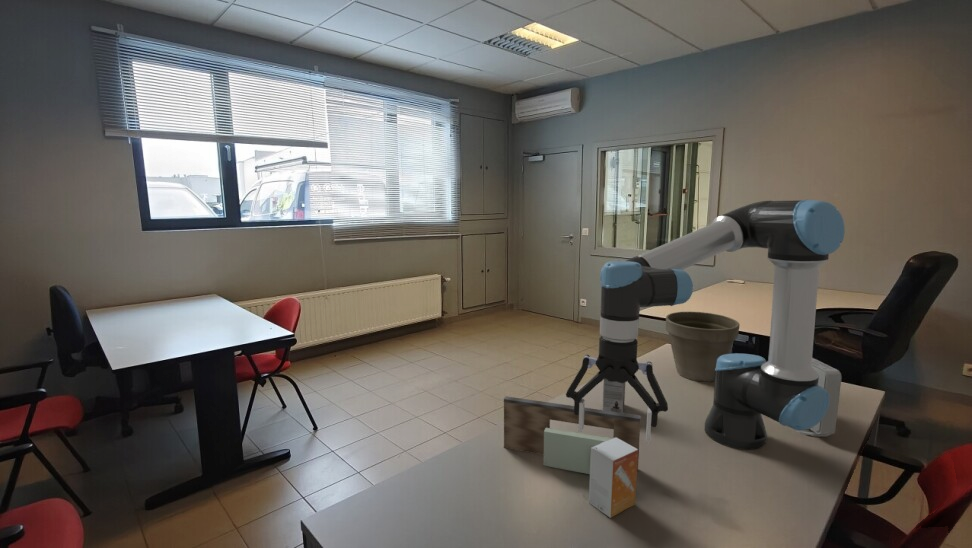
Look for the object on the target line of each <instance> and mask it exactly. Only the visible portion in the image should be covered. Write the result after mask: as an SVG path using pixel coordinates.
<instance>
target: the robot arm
mask: <svg viewBox="0 0 972 548" xmlns="http://www.w3.org/2000/svg"><path fill="white" fill-rule="evenodd" d="M845 231H846V230H845V222H844V219H843V215H842V214H841V211H840V210H839V209H837V207H836V206H835V205H833V203H830V202H829V201H825V200H816V199H815V200H814V199H802V200H801V199H799V200H795V199H794V200H762V201H757V202H754V203H753V202H752V203H749V204H747V205H743V206H740V207H738V208H736V209H733V210H731V211H728V212H725V213H724V214H723V213H722V214H721V215H719V216H717V217H714V219H713V220H712V221H711V223H710V224H709V225H706V226H704V227H701V228H698V229H697V230H695V231H691V232H689V233H687V234H685V235H683V236H680V237H678V238H675V239H674V240H671V241H669V242H668V241H667V242H666V243H664V244H661V245H660V246H657V247H655V248H652V249H651V250H647V251H645V252H643V253H640V254H638V255H636V256H633V257H631V258H629V259H626V260H618V259H617V260H610V261H608V262H606V263H605V264H604V265H603V266H602V267H601V270H600V274H599V280H600V286H601V287H600V288H601V289H600V290H601V291H600V315H599V335H600V337H599V341H598V356H597V358H596V357H593V356H591V355H589V354H585V355H583V359H582V364H581V367H580V369H579V370H578V372H577V374H576V375H575V377H574V378H573V380H572V382H571V383H570V385H569V386H568V389H567V391H566V393H565V397H566V398H569V399H572V400H573V402H574V403H573V406H574V414H575V415H579V424H578V432H577V433H583V429H584V427H585V425H584V408H585V403H586V401H585V400H586V398H584V397H586V395H588V394H589V393H590V392H591V391H592V390H593V389H594V388H595V387H596V386H598V385H599V383H601V382H602V381H604V379H606V380H608V381H610V382H614V381H617V382H619V383H624V382H625V383H629V385H630V387H631V388H632V389H633V390H634V391H635V392H636V393H637V394H638V396H639V397H640V398H641V399H642V401H643V402H644V404H645V405H646V406H647V414H646V431H645V443H646V444H648V445H650V444H651V433H652V432H651V431H652V428H656V427H657V426H658V418H659V417H658V416H659V415H658V414H659V413H661V412H664V413H665V412H667V411H669V409H668V408H669V406H668V402H667V400H666V397H665V396H664V394H663V391H662V389H661V387H660V384H659V382H658V380H657V377H656V375H655V373H654V368H653V367H654V366H653V362H652V361H646V363H645V362H644V363H642V362H641V363H640V362H638V360H637V358H638V344H639V343H638V340H637V338H638V337H639V326H640V325H639V324H640V311H641V308H650V307H667V306H668V307H669V306H670V307H673V306H675V305H682V304H685V303H687V302H688V301H689V300H690V299H691V297H692V295H693V289H694V284H693V279H692V278H691V275H689V273H688V272H687V271H685V269H688V268H690V267H692V266H694V265H697V264H699V263H701V262H703V261H706V260H709V258H712V257H714V256H717V255H720V254H721V253H725V252H727V253H733V252H736V251H738V250H741V249H747V248H757V249H759V248H760V249H767V260H768V261H770V263H772V265H774V267H773V270H774V273H773V286H772V287H773V288H772V302H771V317H770V318H771V319H770V333H769V349H768V358H769V360H766V359H765V358H764V356H763V357H762V356H760V355H756V354H749V353H737V352H735V353H729V354H725V355H722V356H720V357H719V358H718V359H717V363H716V368H715V381H714V384H713V385H714V387H713V403H712V406H711V409H710V410H709V413H708V414H707V416H706V419H705V422H704V432H705V434H706V435H707V436H708V437H709V438H711V439H712V440H713V441H714V442H717V443H719V444H722V445H724V446H727V447H731V448H735V449H739V450H740V449H741V450H757V449H758V450H759V449H761V448H763V447H765V446H766V444H767V437H768V436H767V431H766V427H765V423H764V419H763V417H762V416H765V417H767V418H769V419H771V420H773V421H775V422H777V423H779V424H780V425H782V426H783V427H788V428H790V429H792V430H794V429H795V430H799V431H804V432H805V431H806V430H807V431H808V430H811V428H812V427H814V426H815V425H817V424H818V423H819V422H820V421H821V420H822V419H823V417H824V416H825V414H826V412H827V410H828V407H829V403H830V396H829V394H828V392H827V391H826V390H825V389H824V388H822V387H821V386H818V379H819V374H818V372H817V371H815V370H814V369H813V368H812V366H811V365H812V358H813V351H814V339H815V325H816V324H815V323H816V314H817V313H816V312H817V303H818V301H817V300H818V299H817V298H818V291H819V289H818V288H819V287H818V286H819V277H820V267H821V266H822V265H824V264H825V263H827V262H828V261H829V255H831V254H832V253H835V252H836V251H837V250H839V248H840V247H841V243H843V241H844V238H845ZM593 365H596V367H597V369H598V370H599V371H598V372H596V374H595V375H594V376H593V377H592V378H591V379H590V380H589V381H587V382H586V383H585V384H584V385H583V386H582V387H581V388H580V389H579V390H578V391H576V390H577V388H578V386H579V384H580V383H581V381H582V380H583V377H584V376H585V374H586V373H587V371H588V369H591V368H592V367H593ZM639 370H640V371H641V372H642V374H643V375H645V376H646V379H647V381H648V382H649V386H650V387H651V390H652V392H653V394H654V396H655V398H656V400H655V399H654V398H653V397H652V395H650V393H649V392H648V390H647V389H646V388H645V387H644V385H643V384H642V383H641V382H640V380H639V379H638V377H637V375H635V374H636V373H637V372H638V371H639ZM795 430H794V431H795Z"/></svg>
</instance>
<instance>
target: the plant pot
mask: <svg viewBox="0 0 972 548" xmlns="http://www.w3.org/2000/svg"><path fill="white" fill-rule="evenodd" d="M665 329H666V331H667V332H668V337H669V342H670V343H669V344H670V347H671V352H672V356H673V359H674V365H675V369H676V372H677V374H678V375H679V376H681V377H683V378H685V379H688V380H691V381H697V382H715V368H716V363H717V359H718V358H719V357H720V356H722V355H725V354H730V352H731V350H732V347H733V344H734V341H735V340H737V339H738V336H739V331H740V322H739V321H738V320H736V319H734V318H731V317H728V316H725V315H721V314H717V313H711V312H704V311H702V312H701V311H677V312H672V313H669V314H667V315H666V316H665Z"/></svg>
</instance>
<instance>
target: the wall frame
mask: <svg viewBox="0 0 972 548" xmlns="http://www.w3.org/2000/svg"><path fill="white" fill-rule="evenodd" d="M551 421H556V422H557V421H558V422H562V423H563V422H564V423H570V424H576V425H579V415H575V414H574V405H570V404H562V403H555V402H549V401H542V400H541V401H540V400H535V399H533V400H532V399H527V398H519V397H513V396H504V398H503V448H504V449H511V450H515V451H522V452H526V453H532V454H537V455H543V456H544V430H545V428H551ZM584 426H588V427H589V426H590V427H597V428H601V429H608V430H613V438H615V437H617V438H618V439H620V440H622V441H624V442H626V443H627V444H629V445H631V446H633V447H635V448H636V449H638V461H639V459H640V458H639V457H640V437H641V435H640V433H641V415H640V414H634V413H625V412H624V413H619V412H612V411H605V410H603V409H598V408H591V407H584ZM638 472H639V462H638V463H637V473H638Z"/></svg>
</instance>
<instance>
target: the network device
mask: <svg viewBox="0 0 972 548" xmlns="http://www.w3.org/2000/svg"><path fill="white" fill-rule="evenodd" d="M767 358H768V360H769V357H767ZM768 360H767V361H768ZM811 366H812V368H813V369H814V370H815V371H817V372H818V374H819V379H818V386H821V387H822V388H824V389H825V390H826V391H827V392H828V394H829V396H830V403H829V407H828V410H827V412H826V414H825V416H824V417H823V419H822V420H821V421H820V422H819V423H818V424H817V425H815V426H814V427H812V428H811V429H810V431H805V430H804V431H799V430H796V431H795V429H793V431H795V432H796V433H798V432H799V434H800V433H802V434H801V435H803V434H806V435H805V436H807V435H811V436H810V437H828V436H827V435H829V436H830V435H834V434H835V433H836V430H837V427H836V426H837V419H838V410H839V404H840V403H839V402H840V394H841V385H842V384H841V383H842V377H843V376H842V373H841V372H840V370H839V369H837V368H834V367H832V366H831V365H829V364H826V363H824V362H822V361H821V360H818V359H817V358H814V357H812V365H811ZM811 431H812V432H811Z"/></svg>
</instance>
